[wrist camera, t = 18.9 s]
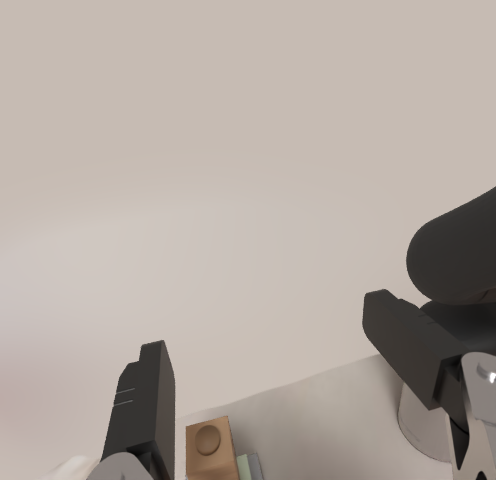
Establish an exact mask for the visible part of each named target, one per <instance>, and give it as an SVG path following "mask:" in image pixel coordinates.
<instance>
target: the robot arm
mask: <svg viewBox="0 0 496 480" xmlns="http://www.w3.org/2000/svg"><path fill="white" fill-rule="evenodd" d="M406 264H407V271H408V274H409V277H410V279H411V280H412V282H413V284H414V285H415V287H416V288H417V289H418V290H419V291H420V292H421V293H422V294H423V295H425V296H426V297H428V298H430V299H431V300H432V301H430V302H428V303H426V304H425V305H423V306H422V307H421V308H420V309H419V308H418V307H417V306H416V305H413V304H412V303H409V302H407V301H405V300H403V299H397V298H396V297H395V296H394V295H393V294H391V293H390V292H389V291H388V290H386V289H382V290H378V291H374V292H369V293H366V294H365V297H364V308H363V321H362V324H363V329H364V332H365V334H366V336H367V338H368V339H369V340H370V341H371V343H372V344H373V345H374V346H375V347H376V349H377V350H378V351H379V352H380V353H381V355H382V356H383V357H384V358H385V359H386V361H387V362H388V363H389V364H390V365H391V366H392V368H393V369H394V370H395V371H396V372H397V374H398V375H399V376H400V377H401V378H402V380H403V381H404V383H403V389H402V395H401V400H400V406H399V412H398V421H399V425H400V428H401V430H402V432H403V434H404V435H405V437H406V438H407V439H408V440H409V442H410V443H411V444H412V445H413V446H414V447H415V448H417V449H418V450H419V451H421V452H422V453H424V454H425V455H427V456H429V457H431V458H433V459H437V460H440V461H445V462H451V464H452V471H453V480H496V187H494V188H493V189H491V190H490V191H488V192H486V193H484V194H482V195H481V196H479V197H477V198H475V199H473V200H472V201H470V202H468V203H466V204H464V205H462V206H460V207H458V208H456V209H454V210H452V211H450V212H448V213H445V214H443V215H441V216H439V217H437V218H435V219H433V220H431V221H429V222H428V223H426V224H425V225H424V226H422V227H421V228H420V229H419V230H418V231H417V232H416V234H415V235H414V237H413V238H412V240H411V242H410V245H409V248H408V251H407V257H406ZM174 469H175V378H174V372H173V369H172V365H171V362H170V358H169V355H168V352H167V348H166V345H165V342H164V340H161V341H157V342H152V343H148V344H144V345H142V346H141V351H140V358H139V361H137V362H134V363H129V364H128V365H127V366H126V368H125V369H124V371H123V373H122V374H121V376H120V377H119V381H118V386H117V390H116V395H115V400H114V407H113V409H112V413H111V418H110V423H109V427H108V432H107V436H106V441H105V445H104V450H103V454H102V458H101V461H100V463H99V464H98V465H97V466H96V467H95V468H94V469H93V471H92V472H91V473H90V475H89V476H88V478H87V479H86V480H174Z"/></svg>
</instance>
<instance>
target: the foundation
mask: <svg viewBox="0 0 496 480" xmlns="http://www.w3.org/2000/svg"><path fill="white" fill-rule="evenodd" d="M236 459H237V464H238V469H239V475H240V480H263V478H262V474H261V469H260V465H259V461H258V456H257V453H255V454H252V455H248V456H247V455H246V454H244V455H241V456H237V457H236ZM186 480H188V478H187V475H186Z"/></svg>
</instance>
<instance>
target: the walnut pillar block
mask: <svg viewBox="0 0 496 480" xmlns="http://www.w3.org/2000/svg"><path fill="white" fill-rule="evenodd" d="M186 475H187V478H188V480H240V475H239V469H238V464H237V459H236V454H235V449H234V445H233V440H232V435H231V430H230V425H229V421H228V416H224V417H221V418H217V419H213V420H209V421H205V422H202V423H198V424H194V425H190V426H186Z"/></svg>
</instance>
